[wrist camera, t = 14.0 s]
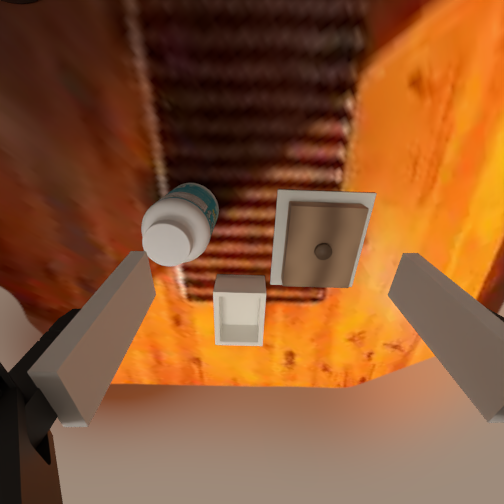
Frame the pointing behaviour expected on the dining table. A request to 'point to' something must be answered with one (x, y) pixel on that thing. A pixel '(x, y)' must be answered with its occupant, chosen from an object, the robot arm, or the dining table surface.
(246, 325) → the dish
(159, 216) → the pill bottle
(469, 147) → the dining table surface
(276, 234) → the mat
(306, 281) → the cover
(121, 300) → the robot arm
